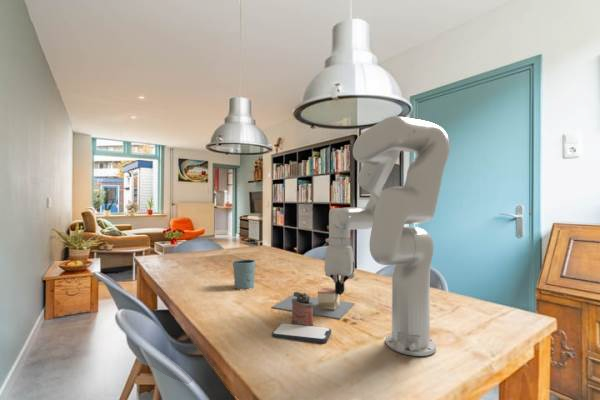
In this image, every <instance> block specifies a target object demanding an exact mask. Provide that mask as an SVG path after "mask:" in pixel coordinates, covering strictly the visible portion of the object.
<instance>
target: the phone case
mask: <svg viewBox="0 0 600 400" xmlns="http://www.w3.org/2000/svg"><path fill="white" fill-rule="evenodd" d="M331 335H332V329H331V327H322V326H314V325H313V326H305V325H294V324H292V323H280V324H279V325H277V327H276V328H275V329H274V330H273V331H272V333H271V336H272V338H276V339H282V338H283V339H284V340H291V341H298V342H307V343H313V344H321V345H324V344H327V343H328V341H329V338H330V336H331ZM283 339H282V340H283Z"/></svg>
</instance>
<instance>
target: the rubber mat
mask: <svg viewBox="0 0 600 400" xmlns="http://www.w3.org/2000/svg"><path fill="white" fill-rule="evenodd" d="M295 298H297V297H295V296H294V294H292V295H290V296H288V297H287V298H284V299H283V300H281V301H280V302H278V303H276V304H274V305H273V306H271V309H275V308H276V309H275V310H280V311H282V310H283V311H287V312H292V299H295ZM309 301H310V302H312V303H313V316H316V317H317V316H318V317H324V318H330V319H335V320H341V319H342V318H343V317H344V316H345V315H346V314H347V313H348V312H349V310H351V309H352V308H353V307H354V306H355V304H356V303H355V302H351V301H349V302H348V301H344V300H340V305H339V306H338V307H337V308H336V309H335V310H330V309H319V307H318V297H315V296H310V299H309Z"/></svg>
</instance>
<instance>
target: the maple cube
mask: <svg viewBox="0 0 600 400" xmlns="http://www.w3.org/2000/svg"><path fill="white" fill-rule="evenodd" d="M317 298H318V307H319V309H330V310H335V309H336V308H337V307H338V306H339V305H340V301H341V300H340V295H339V294H336V291H335V287H334V288H333V287H322V288H321V289H319V290H318V291H317Z"/></svg>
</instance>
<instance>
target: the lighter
mask: <svg viewBox="0 0 600 400" xmlns="http://www.w3.org/2000/svg"><path fill="white" fill-rule="evenodd" d="M293 295H294V296H295V297H297V298H295V299H292V311H291V312H292V317H291V318H292V320H291V324H294V325H305V326H314V325H313V323H314V321H313V320H314V319H313V316H314V315H313V303H312V302H310V301H309V299H310V297H311V296H310V295H308V294H307V293H305V292H303V293H301V292H299V291H293Z"/></svg>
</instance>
